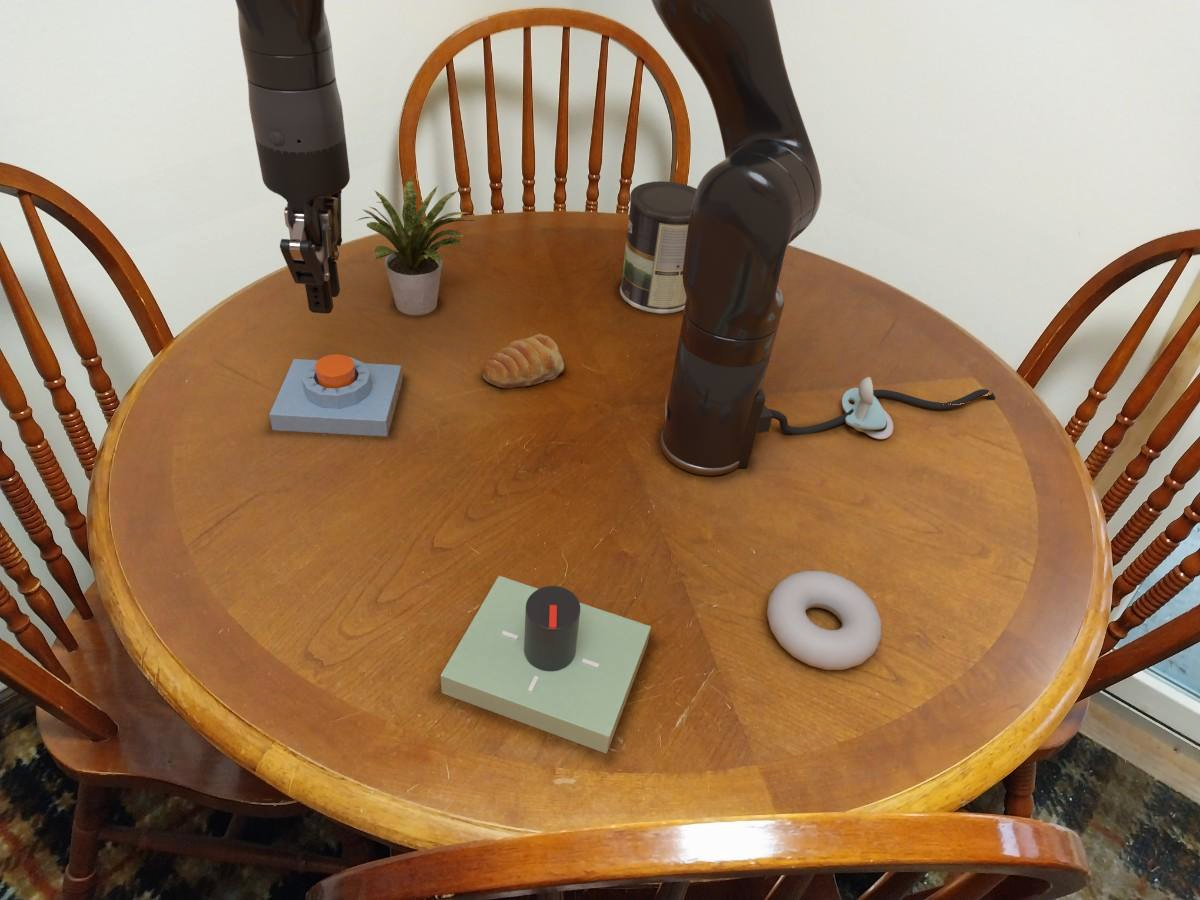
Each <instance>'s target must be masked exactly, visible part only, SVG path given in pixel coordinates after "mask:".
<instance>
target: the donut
mask: <svg viewBox="0 0 1200 900" xmlns="http://www.w3.org/2000/svg"><path fill="white" fill-rule="evenodd" d="M813 608H819V609H823V610H826V611H829V612H830V613H832V614H833V615H834V616H835V617H837V618H838V620H839V621H840V623H841V627H840V628H837V629H827V628H823V627H821V626H819V625H817V624H815V622H813V621H812V620H811V619H810V618H809V616H808V615H807V613H806V611H807V610H809V609H813ZM766 610H767V611H766V617H767V621H768V624H769V625H768V626H769V628H770V631H771V633H772V634H773V636H774V638H775V639H776V641H777V642H778V644H779V645H780V646H781V648H783V649H784V650H785V651H786V652H787V653H788V654H790V656H791V657H793V658H795V659H797V660H799V661H800V662H802V663H804V664H806V665H807V666H811V667H814V668H818V669H821V670H825V671H843V670H847V669H850V668H853V667H857V666H859V665H862V664H863V663H864V662H865V661H867V660H868V659H869V658H871V657H872V656H873V655H874V654H875V652H876V650H877V648H878V646H879V644H880V642H881V639H882V619H881V616H880V614H879V611H878V609H877V606H876V604H875V603H874V601H873V600H872V599H871V598H870V596H869V595H868V594H867V592H866V591H865V590H863V589H862V588H861V587H860V586H858V585H857V584H856V583H855V582H853V581H851V580H849V579H847V578H845V577H843V576H841V575H840V574H837V573H832V572H828V571H824V570H803V571H798V572H794V573H792V574H789V575H788V576H786V577H785V578H784V579H783V580H780V582H778V583H777V584H776V586H775V587H774V589H773V591H772V592H771V594H770V596H769V597H768V603H767V609H766Z"/></svg>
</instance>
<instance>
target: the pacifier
mask: <svg viewBox="0 0 1200 900" xmlns="http://www.w3.org/2000/svg"><path fill="white" fill-rule="evenodd" d="M858 385H859V386H858V387H852V388H850V389H848V390H847V391H845V393H844V394H843V395H842V399H841V407H842V410H843V412H844V414H845V413H846V412H847V413H848V412H849V411H850V410H851V409H853V410H854V412H853V413H852V414H851V415H848V416H847V417H846V420H845V422H844V423H845V424H846V425H847V426H850V427H852V428H853V429H854V430H855V431H857V432H861V433H864V434H866V435H867V436H869V437H871V438H873V439H876V440H885V439H888V438H889V437H891V436H892V434H893V432H894V429H895V428H894V421H893V419H892V418H891V415H890V414H889V413H888V412H887V411H886V410H885V409H884V408H883V406H882V405H881V403H880V401H879V399H878V397H875V396H874V395H873V390H874V386H873V380H872V377H871V376H866V377H865V378H863V379H862V380H861V381H860V383H859V384H858ZM849 401H853V402H854V403H855V404H854V405H852V403H851V402H849ZM883 429H884V430H883ZM877 430H881V431H877Z"/></svg>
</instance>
